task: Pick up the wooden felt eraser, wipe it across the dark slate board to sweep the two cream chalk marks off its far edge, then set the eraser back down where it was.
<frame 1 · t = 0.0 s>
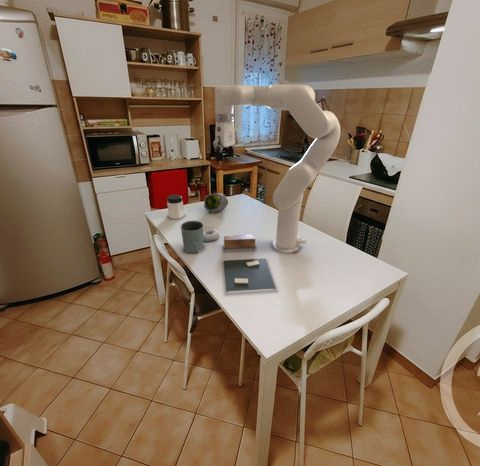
hand: (225, 159, 120), 37 cm above the table, tool pointing down, fingers open, 9 cm apart
chalk mark b: (241, 281, 98), point 1 cm above the table, touching slate board
slate board: (247, 275, 104), on the table
gray cup: (194, 248, 122), on the table
eraser: (239, 248, 122), on the table
chalk mark a: (252, 264, 109), point 1 cm above the table, touching slate board
donut: (209, 237, 131), on the table
jar: (176, 216, 154), on the table
potted plant: (215, 211, 161), on the table
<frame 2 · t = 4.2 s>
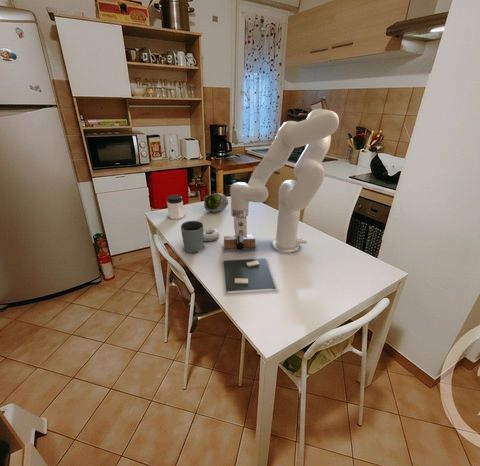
hand: (239, 247, 122), 1 cm above the table, tool pointing down, fingers closed on eraser, 4 cm apart
eraser: (239, 248, 122), on the table, touching gripper
everything else where it was.
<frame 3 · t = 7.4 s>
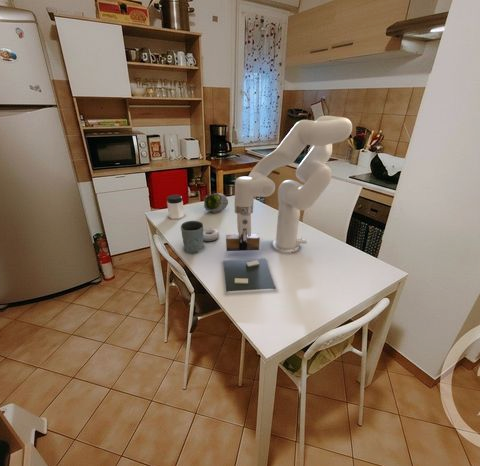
hand: (242, 246, 114), 5 cm above the table, tool pointing down, fingers closed on eraser, 4 cm apart
eraser: (242, 248, 115), point 4 cm above the table, touching gripper
everything else where it was.
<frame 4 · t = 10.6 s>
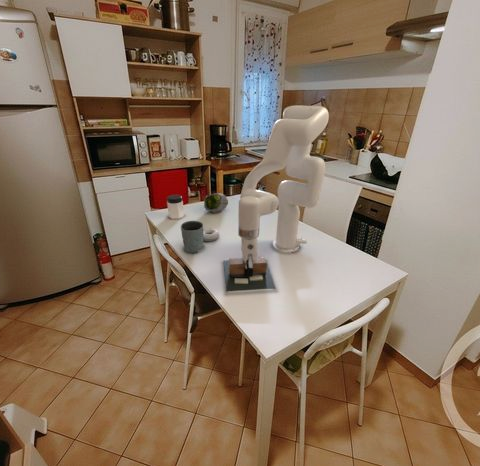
hand: (247, 272, 102), 2 cm above the table, tool pointing down, fingers closed on eraser, 4 cm apart
eraser: (247, 273, 103), point 1 cm above the table, touching gripper
chalk mark a: (255, 278, 100), point 1 cm above the table, touching slate board
everything else where it was.
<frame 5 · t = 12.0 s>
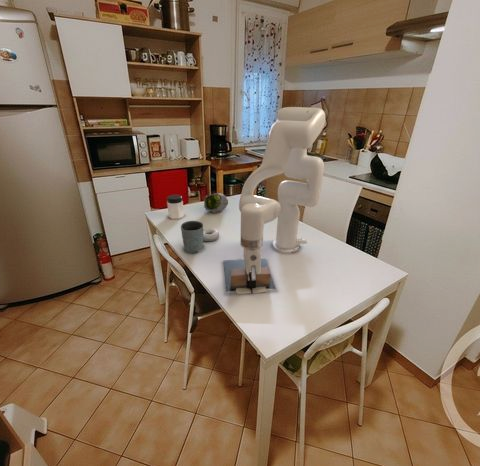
hand: (250, 283, 96), 2 cm above the table, tool pointing down, fingers closed on eraser, 4 cm apart
chalk mark b: (243, 291, 94), point 1 cm above the table, touching slate board
eraser: (250, 284, 97), point 1 cm above the table, touching gripper
chalk mark a: (259, 290, 94), point 1 cm above the table
everything else where it was.
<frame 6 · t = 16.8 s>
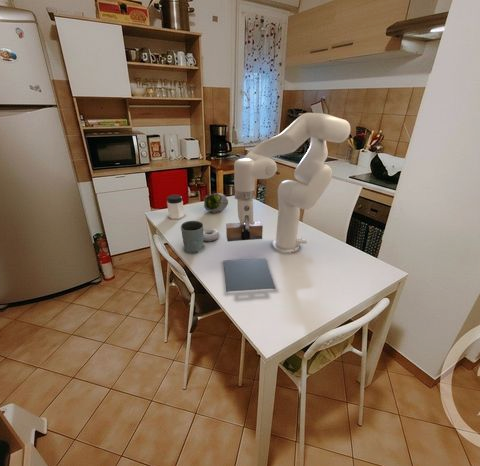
hand: (244, 236, 106), 13 cm above the table, tool pointing down, fingers closed on eraser, 4 cm apart
chalk mark b: (243, 296, 93), on the table
eraser: (244, 237, 106), point 12 cm above the table, touching gripper
chalk mark a: (259, 295, 94), on the table
everything else where it was.
when the fingers open (1 cm above the table, at t = 21.0 s): eraser stays where it is, on the table.
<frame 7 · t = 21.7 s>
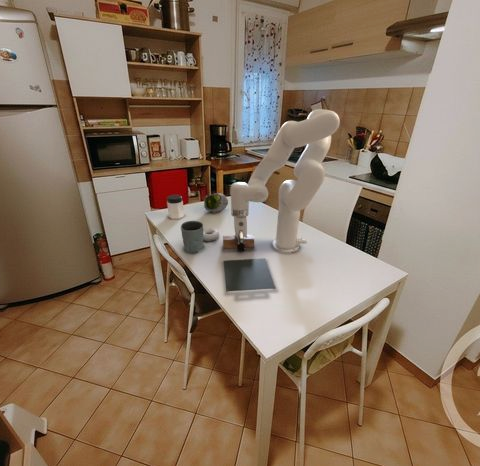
hand: (239, 245, 121), 2 cm above the table, tool pointing down, fingers open, 9 cm apart
eraser: (238, 248, 122), on the table
everything else where it was.
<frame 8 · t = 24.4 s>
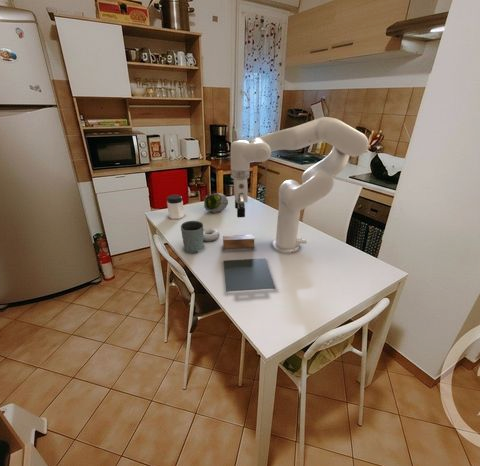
hand: (239, 212, 114), 18 cm above the table, tool pointing down, fingers open, 9 cm apart
nothing on the table moved.
at the end: chalk mark a on the table; chalk mark b on the table; eraser inside the target area (0.5 cm from its centre), on the table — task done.
